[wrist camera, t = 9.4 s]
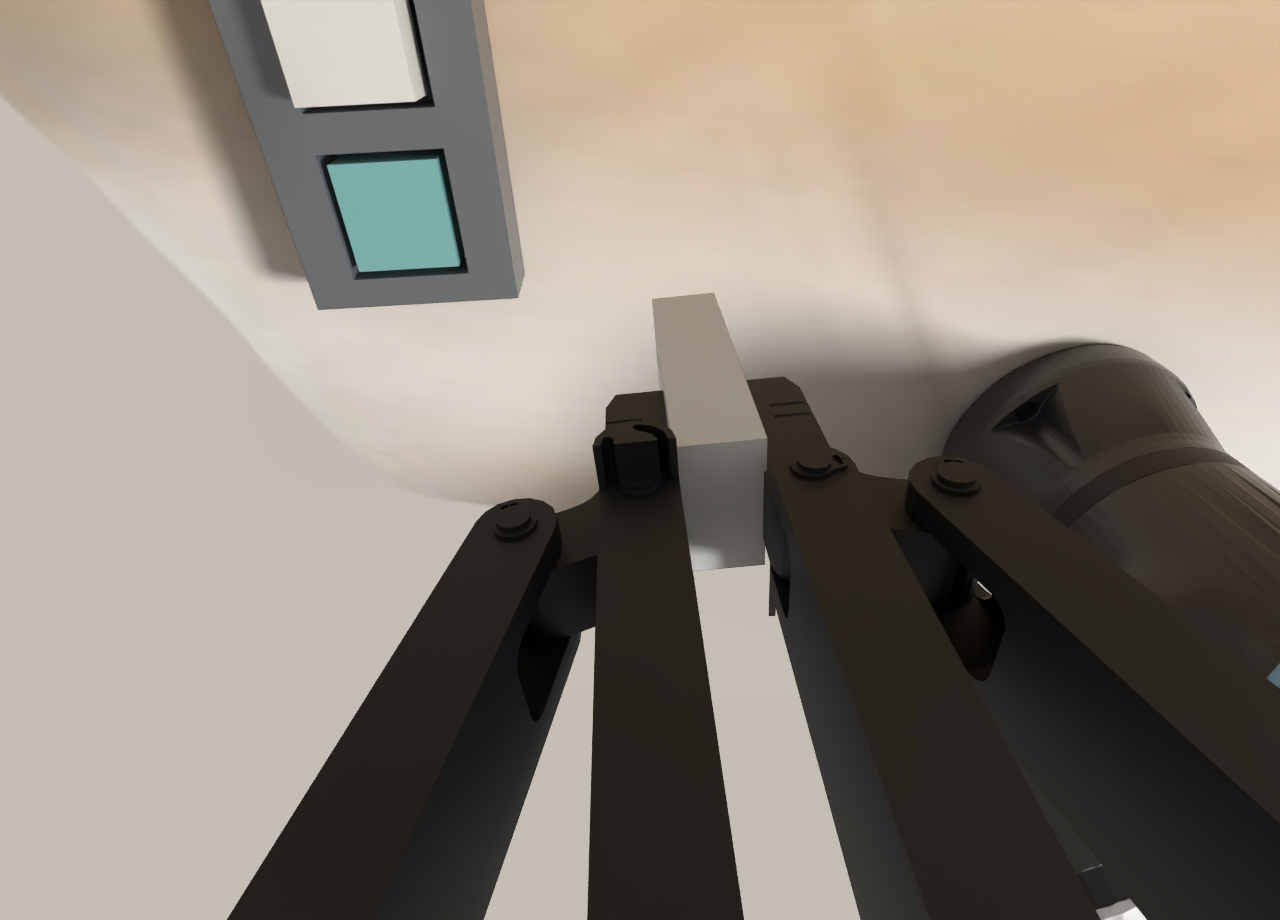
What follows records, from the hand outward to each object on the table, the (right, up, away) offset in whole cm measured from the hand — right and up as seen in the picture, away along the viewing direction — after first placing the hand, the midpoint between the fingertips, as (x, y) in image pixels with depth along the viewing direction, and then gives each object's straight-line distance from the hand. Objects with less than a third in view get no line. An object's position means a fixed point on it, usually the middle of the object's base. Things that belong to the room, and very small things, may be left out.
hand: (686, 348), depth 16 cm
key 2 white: (-13, +15, +10) cm, 22 cm away
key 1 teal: (-13, +10, +15) cm, 22 cm away
